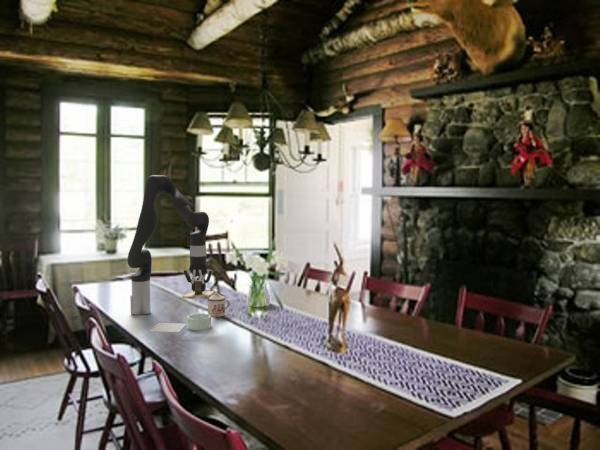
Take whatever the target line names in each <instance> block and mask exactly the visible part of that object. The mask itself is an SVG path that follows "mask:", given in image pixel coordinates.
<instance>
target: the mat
mask: <svg viewBox="0 0 600 450" xmlns="http://www.w3.org/2000/svg"><path fill="white" fill-rule="evenodd" d="M186 326H187V323H179V322H178V323H176V322H175V323H174V322H173V323H171V322H158V323H157V324H155V325H154V326H153V327H152V328H151V329H149V330H148V332H163V333H166V332H167V333H179V332H180V331H182V330H183V328H184V327H186Z"/></svg>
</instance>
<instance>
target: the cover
mask: <svg viewBox="0 0 600 450" xmlns="http://www.w3.org/2000/svg"><path fill="white" fill-rule="evenodd" d="M201 284H202V281H201V279H200V280H197V279H196V280H195V292H193V290H188V291H187V292H186V293H185V294H183V295H182V296H181V298H182V299H189V300H193V299H194V300H195V299H198V300H207V299H209V298H210V297H211V296H212V295H214V293H215V290H211V291H209V290H204V292H202V291H201Z"/></svg>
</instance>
